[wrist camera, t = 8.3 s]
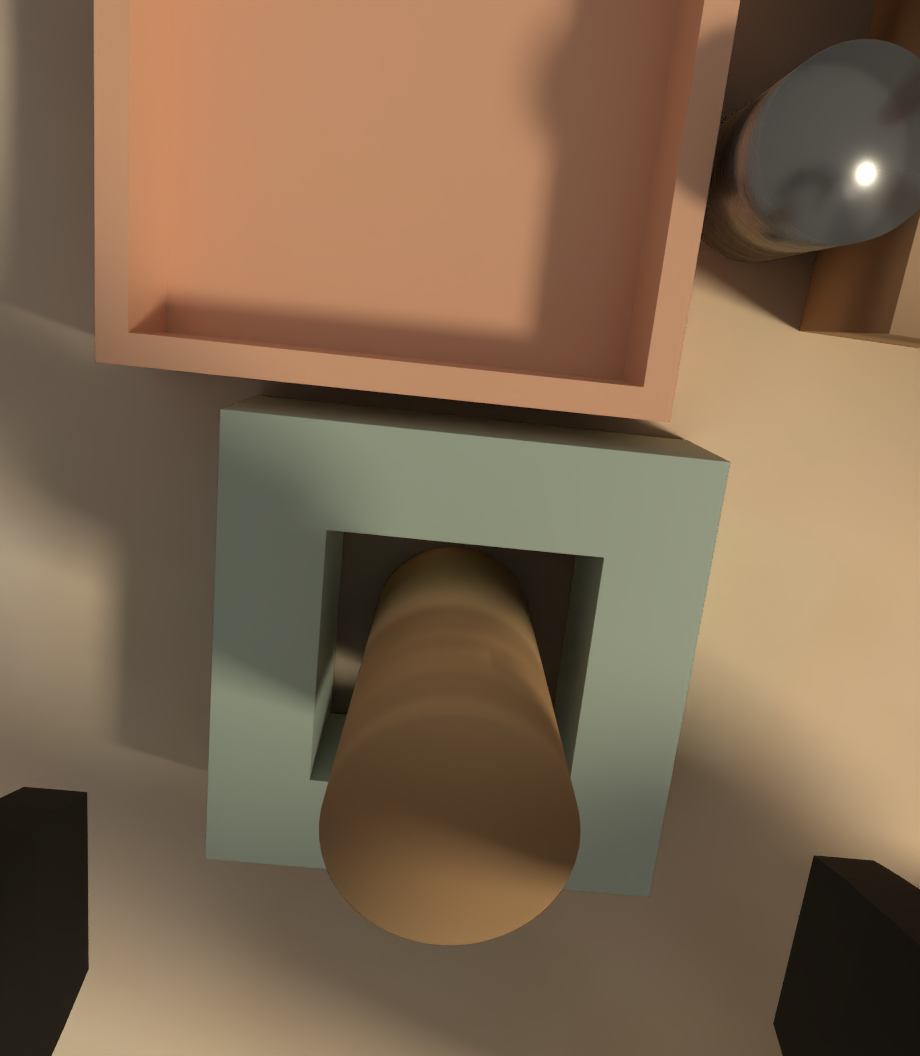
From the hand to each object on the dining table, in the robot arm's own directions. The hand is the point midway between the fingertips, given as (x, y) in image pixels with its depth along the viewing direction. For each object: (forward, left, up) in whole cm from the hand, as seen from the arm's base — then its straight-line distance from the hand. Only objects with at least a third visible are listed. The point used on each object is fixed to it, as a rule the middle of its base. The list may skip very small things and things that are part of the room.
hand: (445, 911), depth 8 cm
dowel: (0, 0, -8) cm, 8 cm away
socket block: (0, 0, -8) cm, 8 cm away
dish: (+9, +1, -8) cm, 12 cm away
